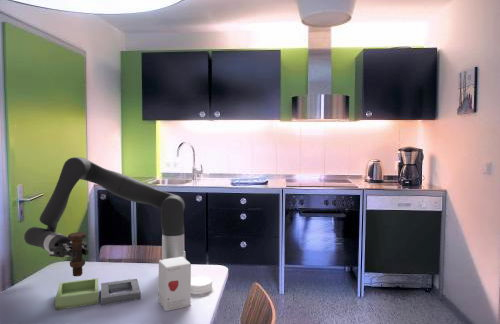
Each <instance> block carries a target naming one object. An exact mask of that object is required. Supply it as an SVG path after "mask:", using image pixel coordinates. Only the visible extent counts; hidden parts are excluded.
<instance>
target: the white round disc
mask: <svg viewBox="0 0 500 324" xmlns="http://www.w3.org/2000/svg"><path fill="white" fill-rule="evenodd" d="M212 290H213V279H212V278H210V277H208V276H203V275H201V276H199V275H198V276H193V277H192V276H191V295H196V296H198V295H205V294H207V293H208V294H209V292H211V291H212Z"/></svg>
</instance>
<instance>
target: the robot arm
mask: <svg viewBox="0 0 500 324" xmlns="http://www.w3.org/2000/svg"><path fill="white" fill-rule="evenodd" d="M60 171H61V172H60V173H59V174H60V175H59V178H58V181H56V182H57V183H56V186H55V188H54V190H53V192H52V194H51V196H50V198H49V200H48V202H47V203H46V205H45V207H44V209H43V211H42V213H41V214H40V216H39V222H40V223H41V224H43V225H45V226H47V227H46V228H43V227H38V226H32V227H29V228H28V229H26V231H25V232H24V236H23V238H24V241H25V243H26V244H28V245H29V246H33V247H37V248H41V249H43V250H45V251H47V252H49V253H48V254H49V257H55V258H65V257H70V258H72V257H73V258H77V251H74V250H72V240H70V239H68V235H65V234H62V233H58V232H56V231H57V227H58V224H59V222H60V220H61V218H62V216H63V215H64V213H65V211H66V208H67V205H68V203H69V199H70V195H71V193H72V190H73V189H74V187H75V185H76V184H77V183H78V182H79V181H80V180H82V181H86V182H90V183H93V184H95V185H99V186H100V187H101V188H103V189H104V190H106V191H108V192H109V193H111V194H112V195H114V196H117V197H118V198H121V199H124V200H126V201H130V202H134V203H139V204H145V205H150V206H152V207H154V208H157V209H159V210H160V227H161V234H162V235H161V236H162V237H161V246H162V249H161V250H162V251H161V252H162V254H161V255H162V256H161V260H163V259H169V258H176V257H184V258H185V259H186V260H187V258H186V257H187V256H186V251H185V222H184V221H185V220H184V210H185V208H186V203H185V201H184V199H183V198H182V197H181V196H180V195H177V194H174V193H170V192H167V191H163V190H160V189H157V188H155V187H153V186H151V185H149V184H147V183H145V182H143V181H140V180H138V179H136V178H133V177H130V176H128V175H127V174H126V175H125V174H123V173H120V172H117V171H114V170H110V169H106V168H104V167H102V166H100V165H98V164H97V163H95V162H93V161H91V160H89V159H86V158H84V157H79V156H78V157H77V156H76V157H75V156H74V157H70V158H68V159H67V160H66V161H65V162H64V163H63V166H62V169H61V170H60ZM88 247H89V246H88V243H87V241H86V240H84V241H83V240H82V256H83V255H84V256H88V254H89V249H88Z"/></svg>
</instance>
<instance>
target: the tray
mask: <svg viewBox="0 0 500 324" xmlns="http://www.w3.org/2000/svg"><path fill="white" fill-rule="evenodd" d="M54 299H55V301H54V303H55V311H57V310H58V311H60V310H64V309H70V308H76V307H77V308H78V307H83V306H89V305H97V304H99V278H98V277H95V278H89V279H87V278H86V279H79V280H73V281H64V282H59V283H58V288H57V291H56V295H55V298H54Z"/></svg>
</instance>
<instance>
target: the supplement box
mask: <svg viewBox="0 0 500 324" xmlns="http://www.w3.org/2000/svg"><path fill="white" fill-rule="evenodd" d="M191 266H192V264H191V263H190V261H188V260H187V258H186V259H185V258H184V257H176V258H169V259H163V260H162V259H159V260H158V303H159V304H160V305H161V307H162V308H163V310H164V311H165V312H168V311H173V310H177V309H182V308H187V307H190V306H191V303H192V302H191V300H192V299H191V296H192V294H191V278H192V271H191V270H192V267H191Z"/></svg>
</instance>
